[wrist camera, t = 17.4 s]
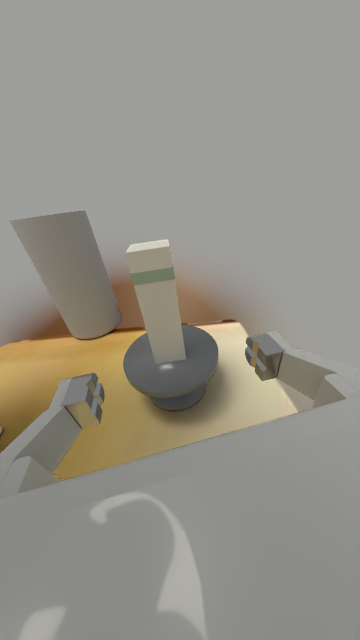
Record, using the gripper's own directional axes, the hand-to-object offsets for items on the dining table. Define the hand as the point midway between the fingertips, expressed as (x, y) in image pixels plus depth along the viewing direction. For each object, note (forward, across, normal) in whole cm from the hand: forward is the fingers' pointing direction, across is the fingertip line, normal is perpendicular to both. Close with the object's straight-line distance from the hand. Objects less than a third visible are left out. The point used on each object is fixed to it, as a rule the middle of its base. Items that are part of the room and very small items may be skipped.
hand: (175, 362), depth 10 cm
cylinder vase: (+36, +16, +17) cm, 43 cm away
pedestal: (+12, 0, +17) cm, 21 cm away
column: (+12, 0, +10) cm, 16 cm away
